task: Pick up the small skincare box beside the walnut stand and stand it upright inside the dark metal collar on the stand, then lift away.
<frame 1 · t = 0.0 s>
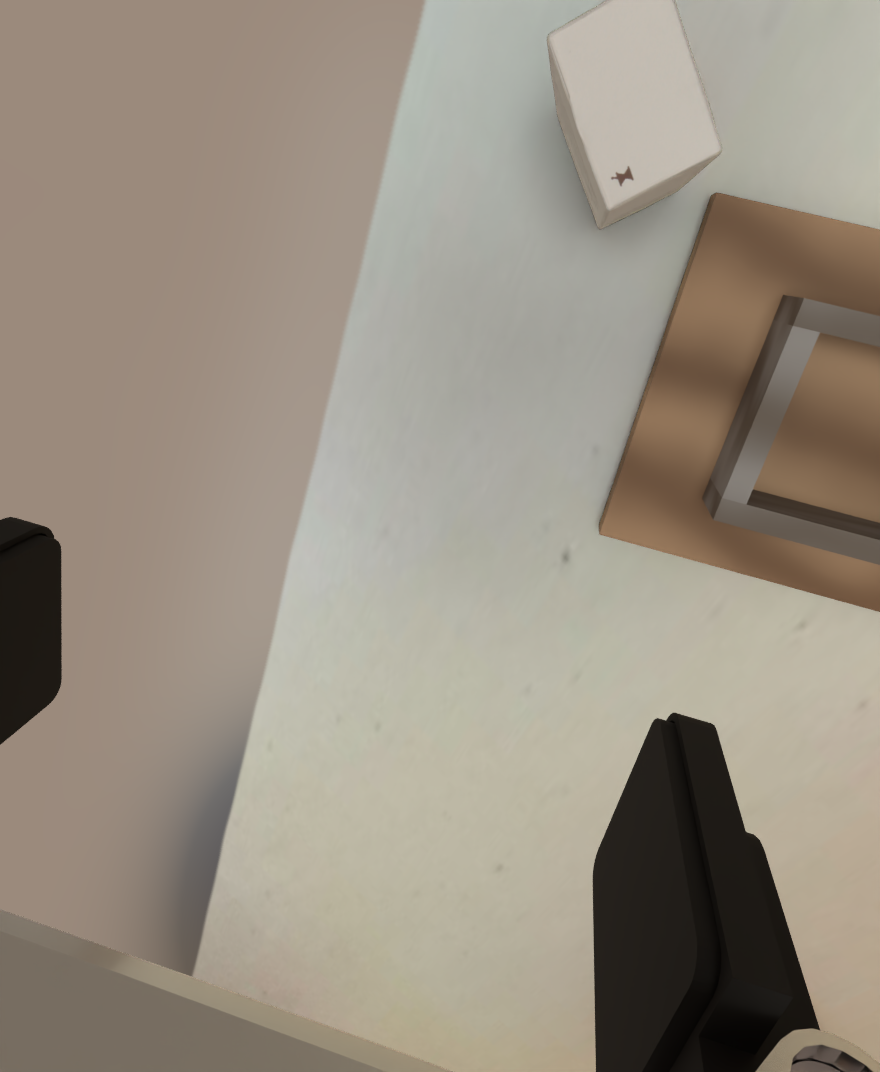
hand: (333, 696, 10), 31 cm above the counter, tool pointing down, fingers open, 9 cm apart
stand: (836, 423, 37), on the counter
skincare box: (617, 150, 34), on the counter
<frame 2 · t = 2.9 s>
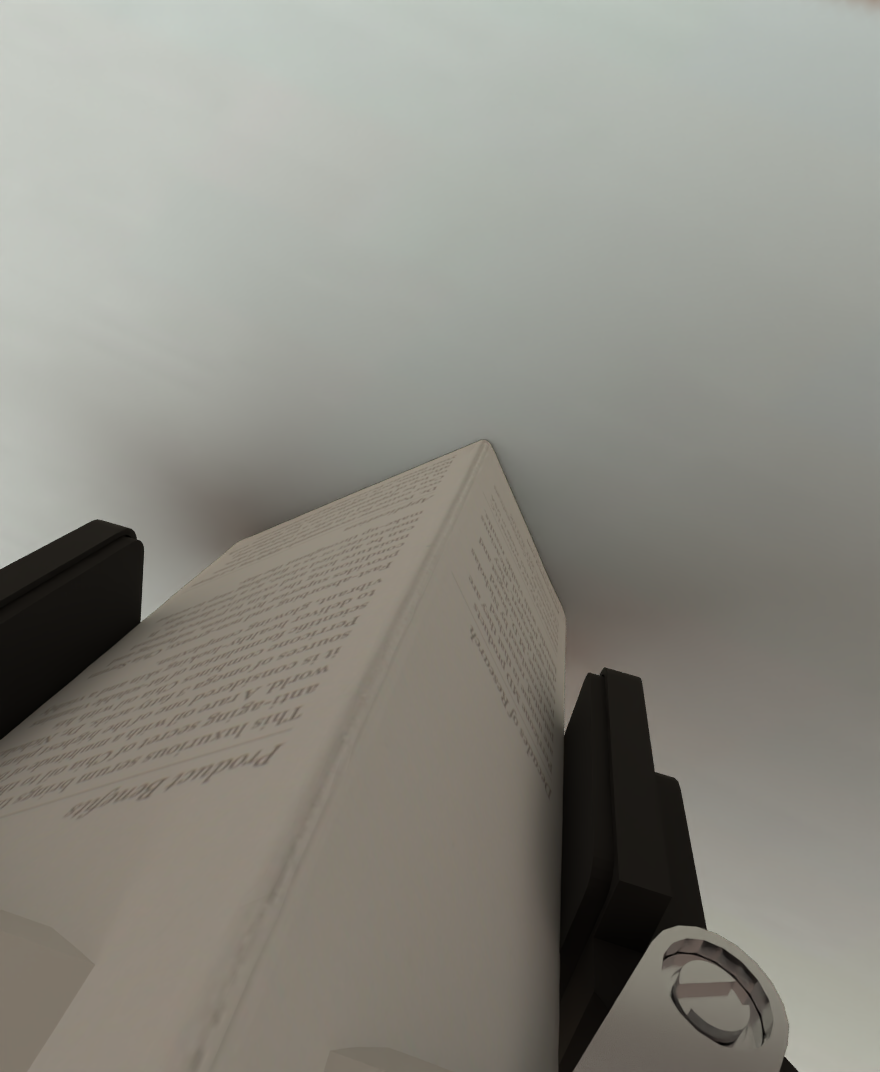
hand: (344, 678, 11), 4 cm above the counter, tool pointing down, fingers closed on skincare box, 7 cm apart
skincare box: (406, 573, 15), on the counter, touching gripper
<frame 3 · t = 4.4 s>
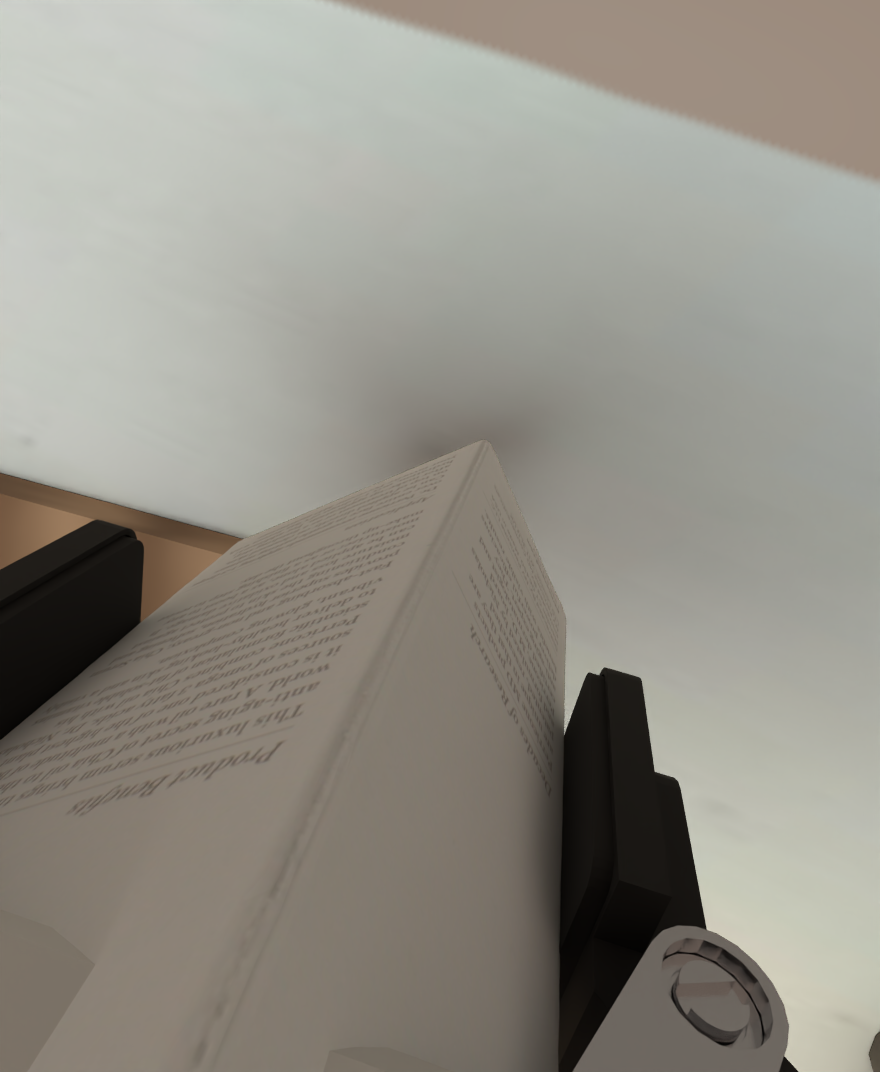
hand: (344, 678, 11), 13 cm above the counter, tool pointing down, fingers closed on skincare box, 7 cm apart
stand: (134, 725, 30), on the counter
skincare box: (407, 572, 15), point 9 cm above the counter, touching gripper
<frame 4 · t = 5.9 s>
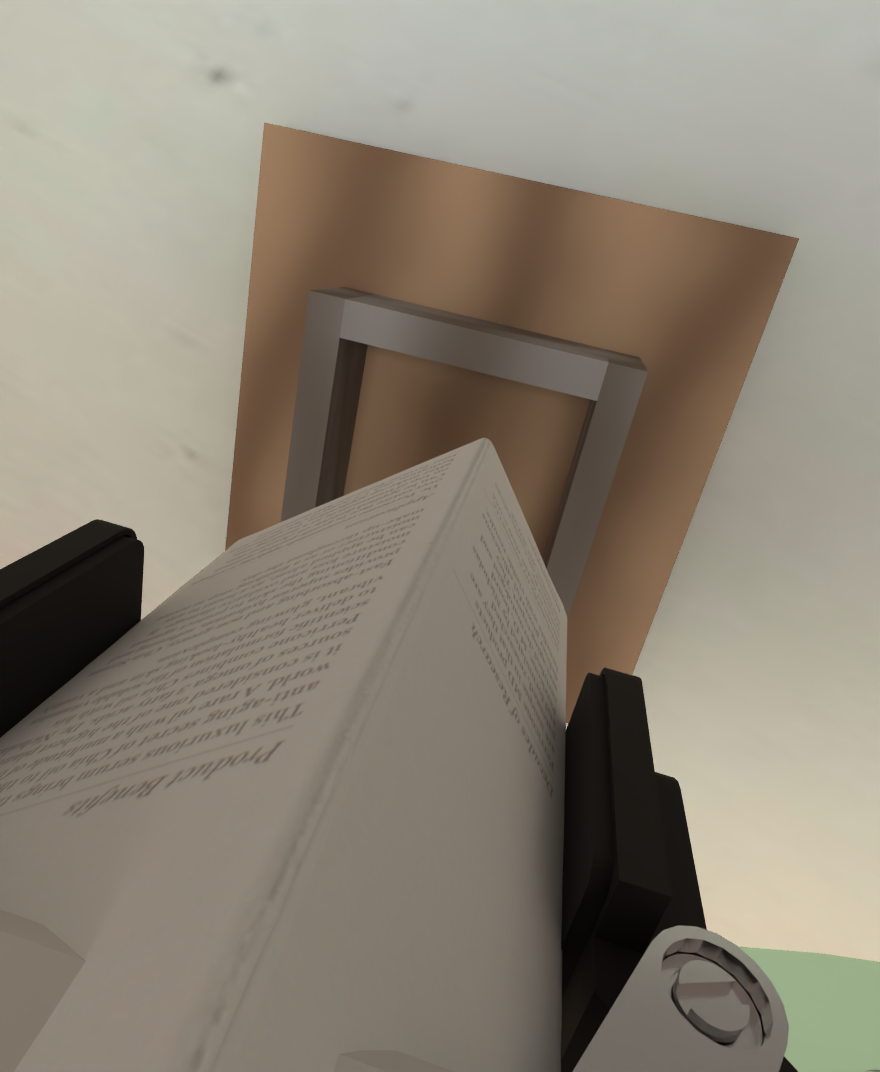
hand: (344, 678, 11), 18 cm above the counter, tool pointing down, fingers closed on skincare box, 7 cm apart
stand: (462, 454, 28), on the counter
plant: (819, 1061, 37), on the counter
skincare box: (407, 571, 15), point 14 cm above the counter, touching gripper
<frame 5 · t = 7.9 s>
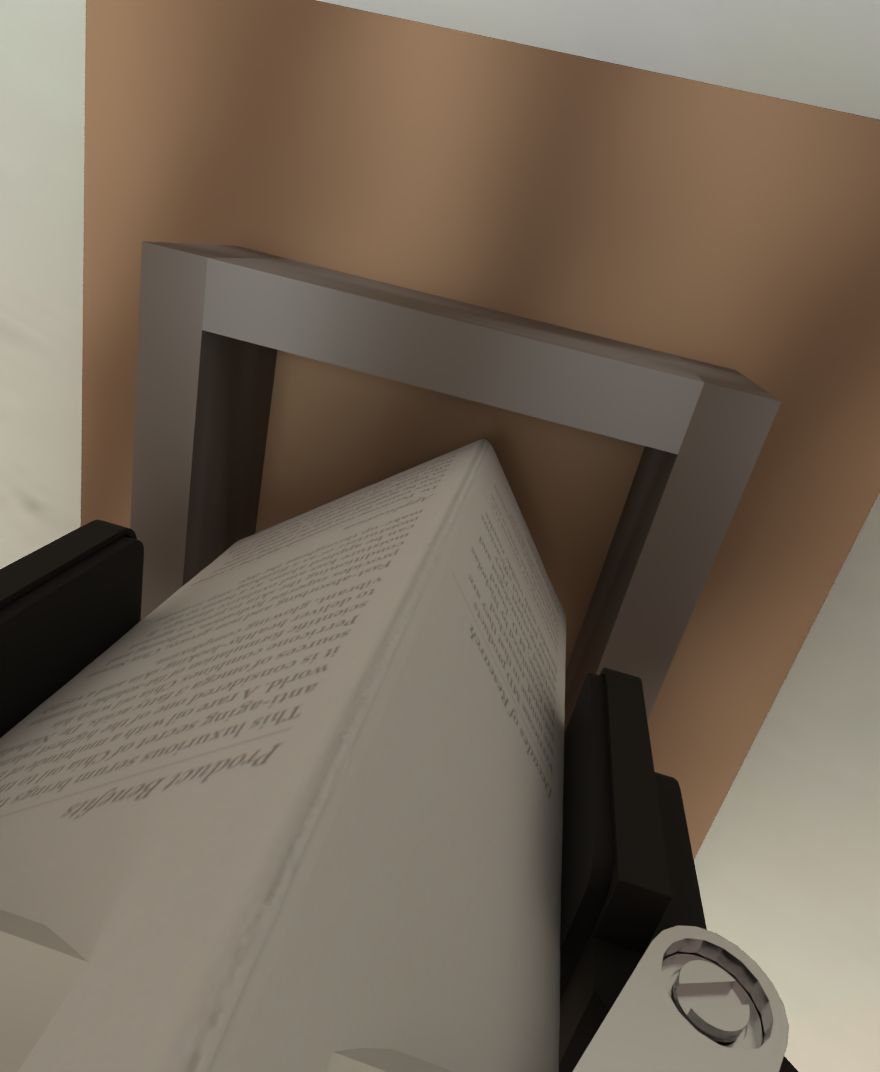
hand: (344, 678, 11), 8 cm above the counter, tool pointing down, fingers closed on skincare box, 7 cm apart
stand: (436, 516, 18), on the counter
skincare box: (406, 572, 15), point 4 cm above the counter, touching gripper
when the fingers open (7 cm above the counter, at t = 9.1 s): skincare box drops 1 cm, resting on stand.
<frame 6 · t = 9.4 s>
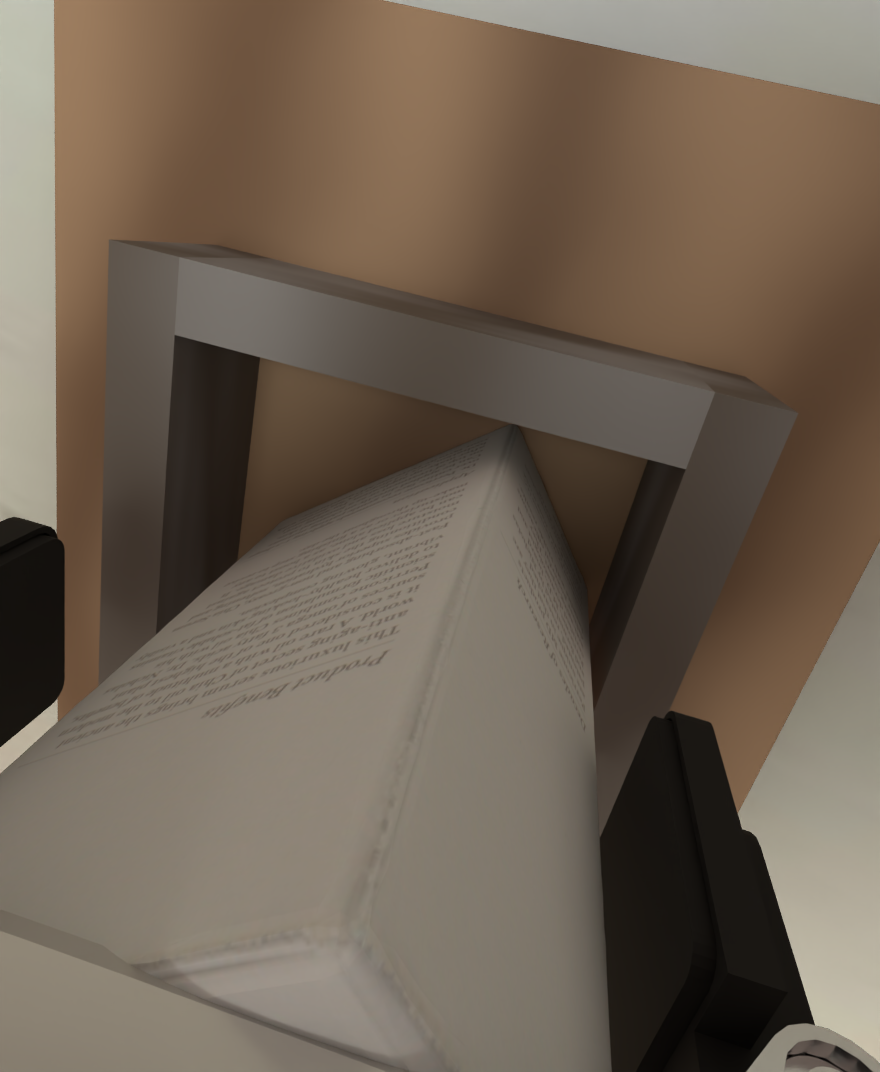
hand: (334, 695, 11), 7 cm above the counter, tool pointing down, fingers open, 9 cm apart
stand: (429, 528, 17), on the counter
skincare box: (438, 549, 16), point 1 cm above the counter, touching stand
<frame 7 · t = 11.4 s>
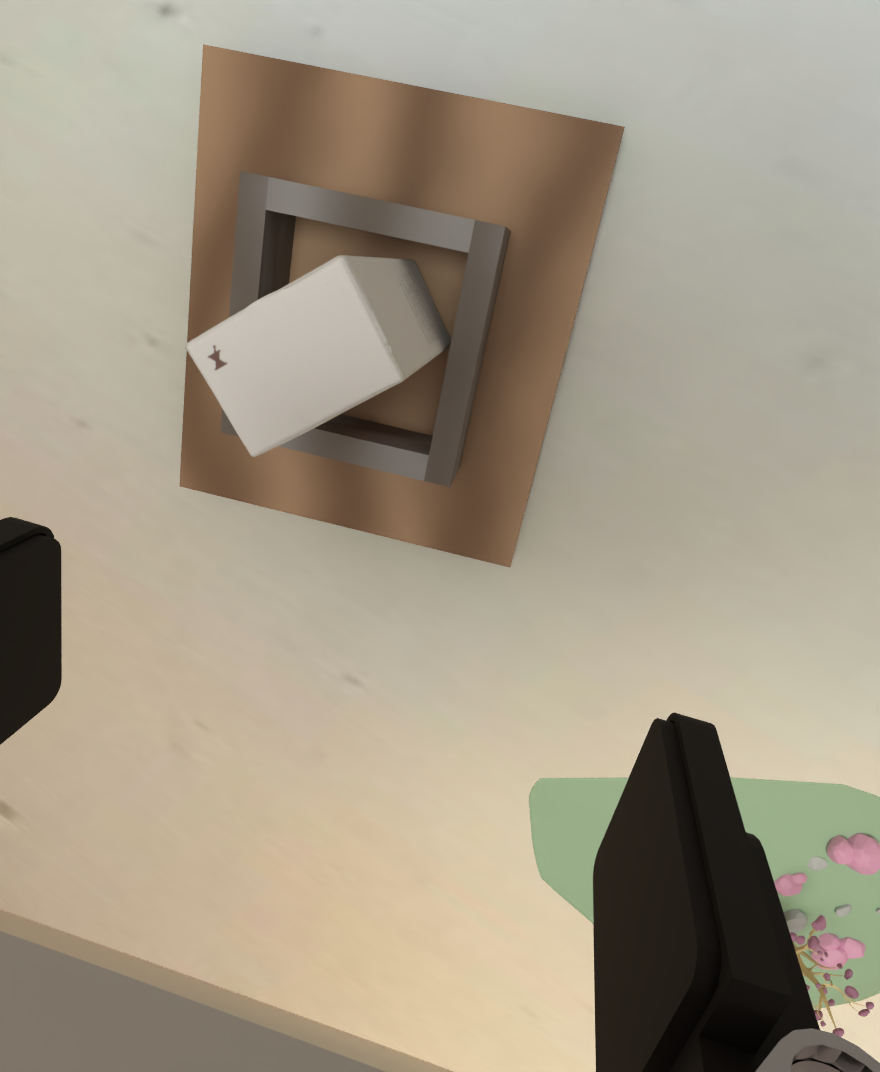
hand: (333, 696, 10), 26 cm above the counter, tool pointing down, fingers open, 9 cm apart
stand: (379, 328, 34), on the counter
plant: (714, 873, 43), on the counter
skincare box: (382, 330, 33), point 1 cm above the counter, touching stand
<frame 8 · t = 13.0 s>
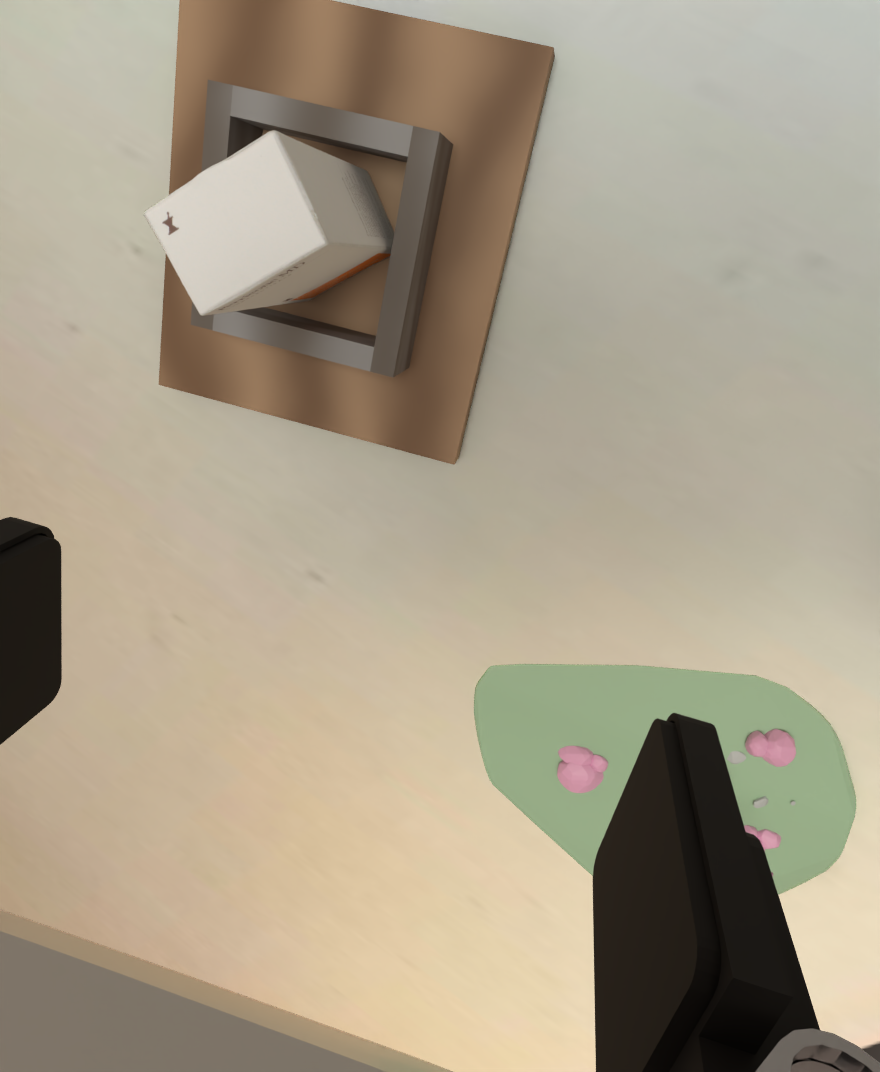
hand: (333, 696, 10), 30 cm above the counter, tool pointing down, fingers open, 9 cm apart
stand: (339, 239, 37), on the counter
plant: (646, 771, 47), on the counter
skincare box: (339, 238, 36), point 1 cm above the counter, touching stand
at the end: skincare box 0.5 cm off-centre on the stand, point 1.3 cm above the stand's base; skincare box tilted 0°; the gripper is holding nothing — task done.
